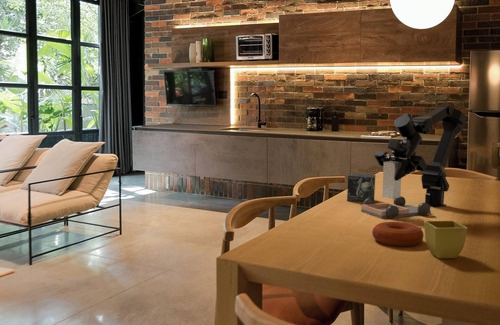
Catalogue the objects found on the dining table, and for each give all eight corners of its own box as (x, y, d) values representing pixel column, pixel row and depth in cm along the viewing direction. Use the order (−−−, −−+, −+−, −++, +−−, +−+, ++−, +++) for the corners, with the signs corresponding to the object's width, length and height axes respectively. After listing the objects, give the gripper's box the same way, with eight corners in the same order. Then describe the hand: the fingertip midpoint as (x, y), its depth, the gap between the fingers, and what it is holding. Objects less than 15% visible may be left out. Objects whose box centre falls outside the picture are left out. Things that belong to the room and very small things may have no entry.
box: (346, 201, 229) (347, 175, 228) (348, 198, 236) (349, 173, 234) (373, 203, 226) (374, 177, 225) (374, 200, 233) (375, 174, 231)
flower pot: (421, 251, 159) (423, 220, 158) (451, 251, 160) (453, 220, 159) (434, 261, 151) (436, 228, 149) (466, 261, 151) (468, 227, 150)
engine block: (389, 195, 206) (391, 160, 204) (400, 197, 203) (401, 162, 201) (382, 196, 203) (383, 162, 201) (393, 198, 200) (394, 163, 198)
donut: (432, 242, 170) (433, 226, 169) (406, 251, 159) (407, 234, 159) (389, 233, 180) (390, 217, 180) (361, 241, 170) (362, 224, 169)
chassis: (406, 206, 221) (406, 195, 220) (433, 214, 207) (434, 202, 206) (358, 210, 212) (359, 198, 211) (384, 219, 198) (384, 207, 197)
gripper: (378, 129, 209) (358, 161, 203) (424, 132, 195) (404, 167, 190) (390, 149, 215) (371, 181, 210) (435, 153, 202) (416, 188, 196)
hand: (389, 179), depth 201 cm, fingers closed on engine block, 4 cm apart
